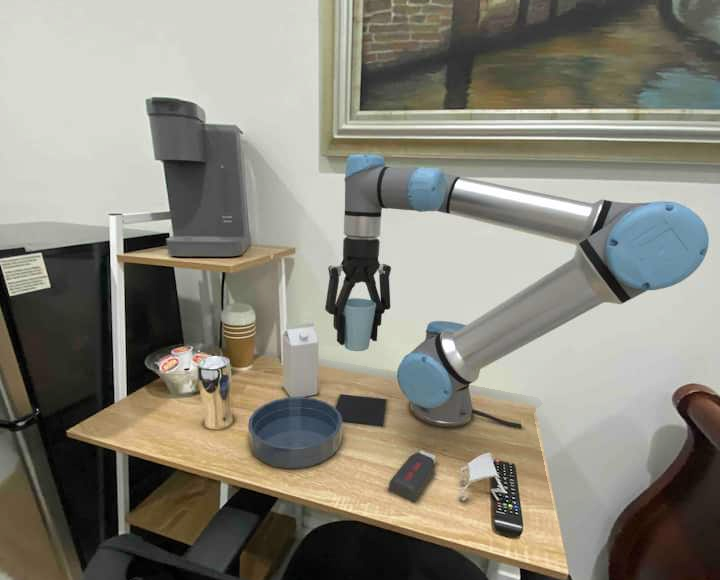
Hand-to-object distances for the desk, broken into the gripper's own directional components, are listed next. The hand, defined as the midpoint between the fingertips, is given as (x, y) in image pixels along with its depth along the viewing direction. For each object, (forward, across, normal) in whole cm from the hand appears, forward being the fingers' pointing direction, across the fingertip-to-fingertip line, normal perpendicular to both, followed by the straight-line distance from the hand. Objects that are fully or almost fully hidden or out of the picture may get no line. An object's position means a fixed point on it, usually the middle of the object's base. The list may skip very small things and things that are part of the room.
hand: (356, 340), depth 88 cm
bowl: (+19, +16, +5) cm, 25 cm away
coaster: (+19, -2, -1) cm, 19 cm away
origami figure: (+20, -13, +31) cm, 39 cm away
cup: (+2, 0, 0) cm, 2 cm away
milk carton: (+19, +9, -15) cm, 26 cm away
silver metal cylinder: (+19, +30, -7) cm, 37 cm away
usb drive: (+20, -3, +25) cm, 32 cm away
